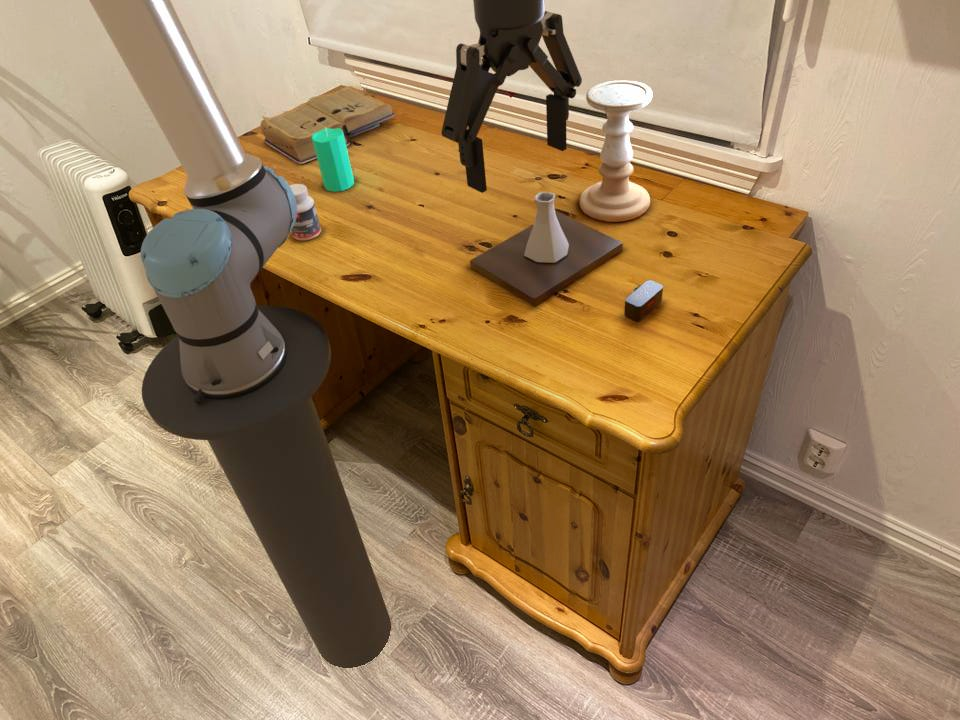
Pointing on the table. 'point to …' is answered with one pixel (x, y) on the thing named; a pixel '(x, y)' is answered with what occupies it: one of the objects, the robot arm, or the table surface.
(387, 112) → the book
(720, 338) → the table surface
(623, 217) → the candle holder
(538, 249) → the flask
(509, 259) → the walnut board
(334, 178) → the candle
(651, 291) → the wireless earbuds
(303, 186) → the pill bottle
